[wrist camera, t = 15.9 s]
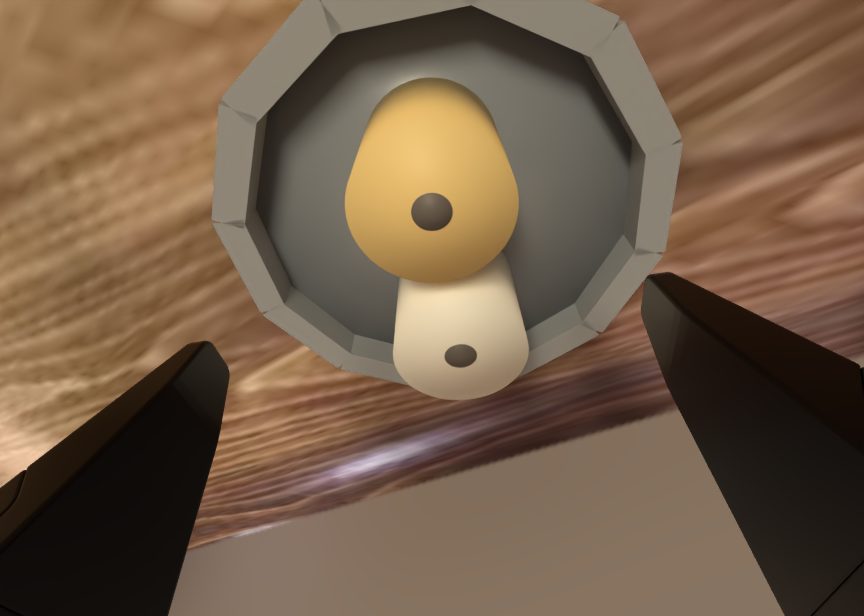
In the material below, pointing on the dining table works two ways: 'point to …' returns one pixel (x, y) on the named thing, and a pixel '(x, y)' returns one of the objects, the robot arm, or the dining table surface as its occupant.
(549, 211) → the round tray
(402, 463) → the dining table surface
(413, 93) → the ochre bead
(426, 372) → the cream bead
